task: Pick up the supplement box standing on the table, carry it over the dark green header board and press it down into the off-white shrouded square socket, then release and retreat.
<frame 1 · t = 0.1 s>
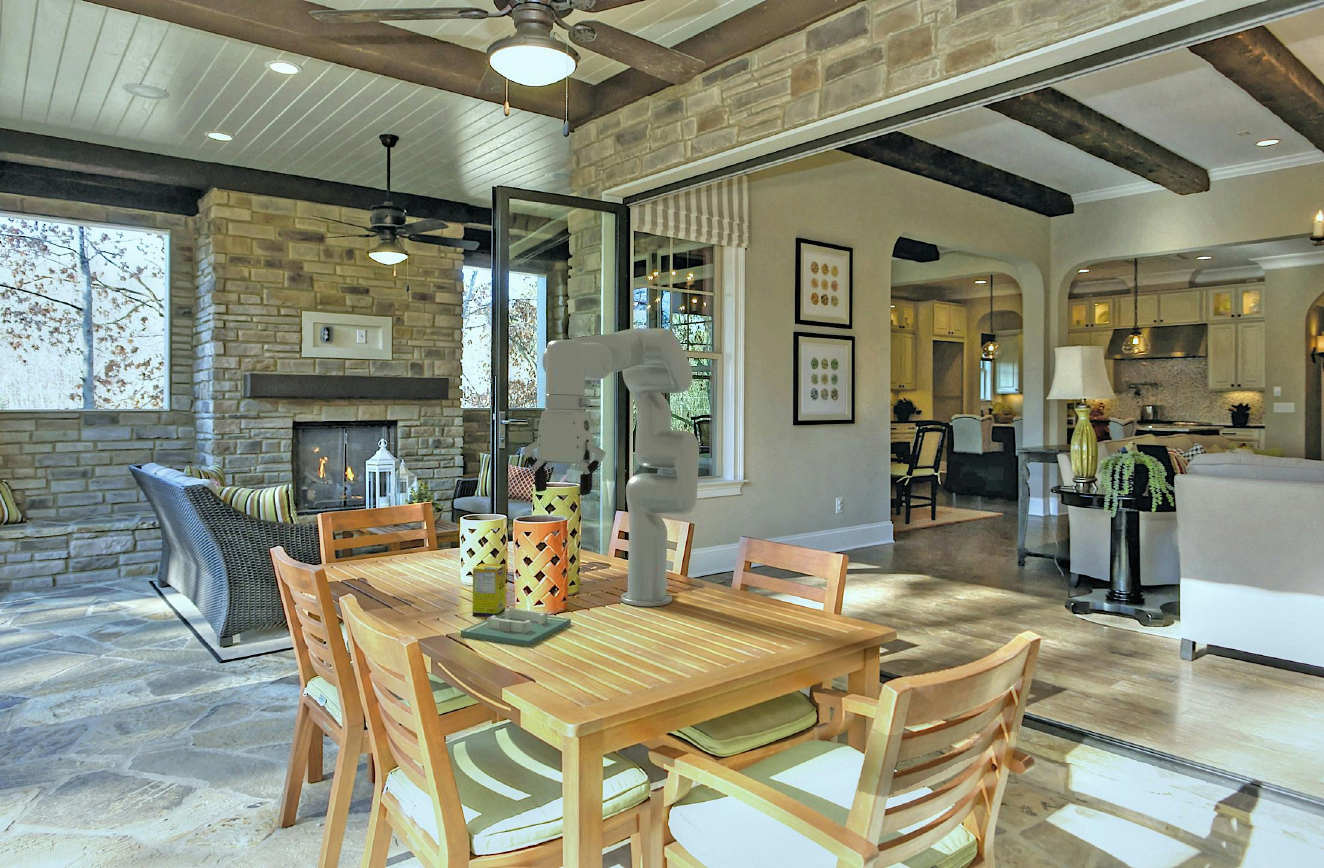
hand: (562, 492, 155), 31 cm above the table, fingers open, 9 cm apart
header board: (517, 630, 170), on the table
supplement box: (488, 614, 183), on the table
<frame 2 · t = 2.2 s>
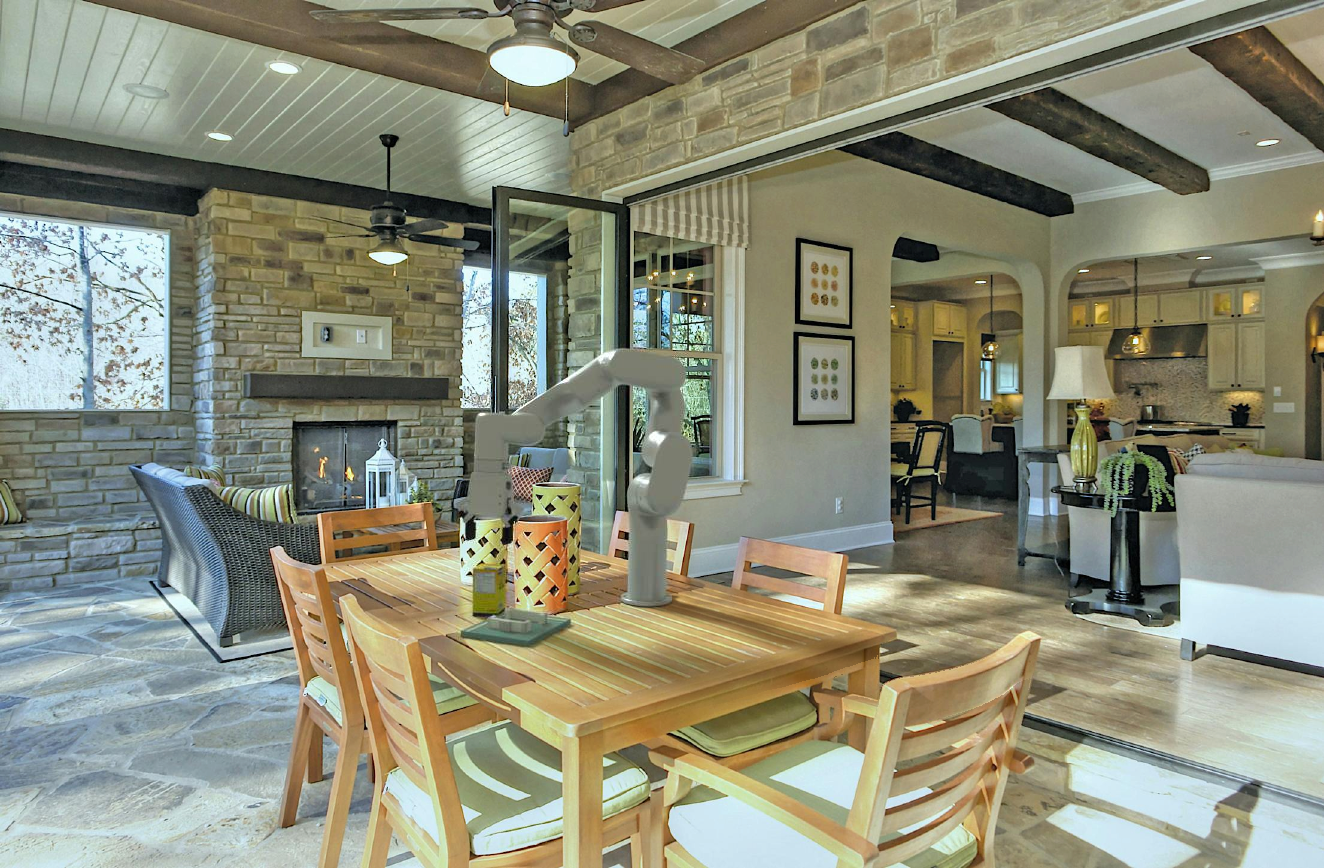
hand: (488, 541, 182), 16 cm above the table, fingers open, 9 cm apart
nothing on the table moved.
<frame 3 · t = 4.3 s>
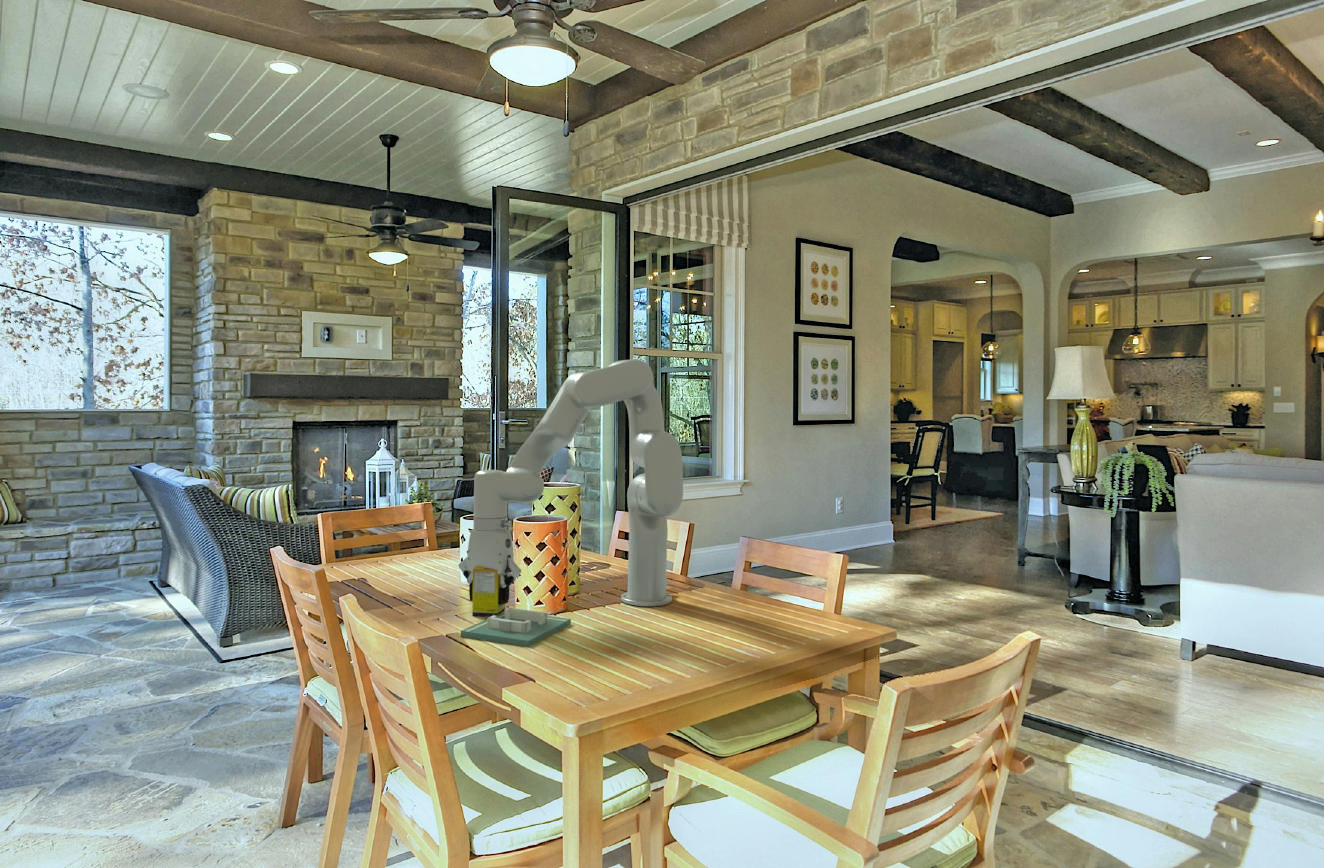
hand: (489, 601, 183), 3 cm above the table, fingers closed on supplement box, 7 cm apart
supplement box: (488, 614, 183), on the table, touching gripper
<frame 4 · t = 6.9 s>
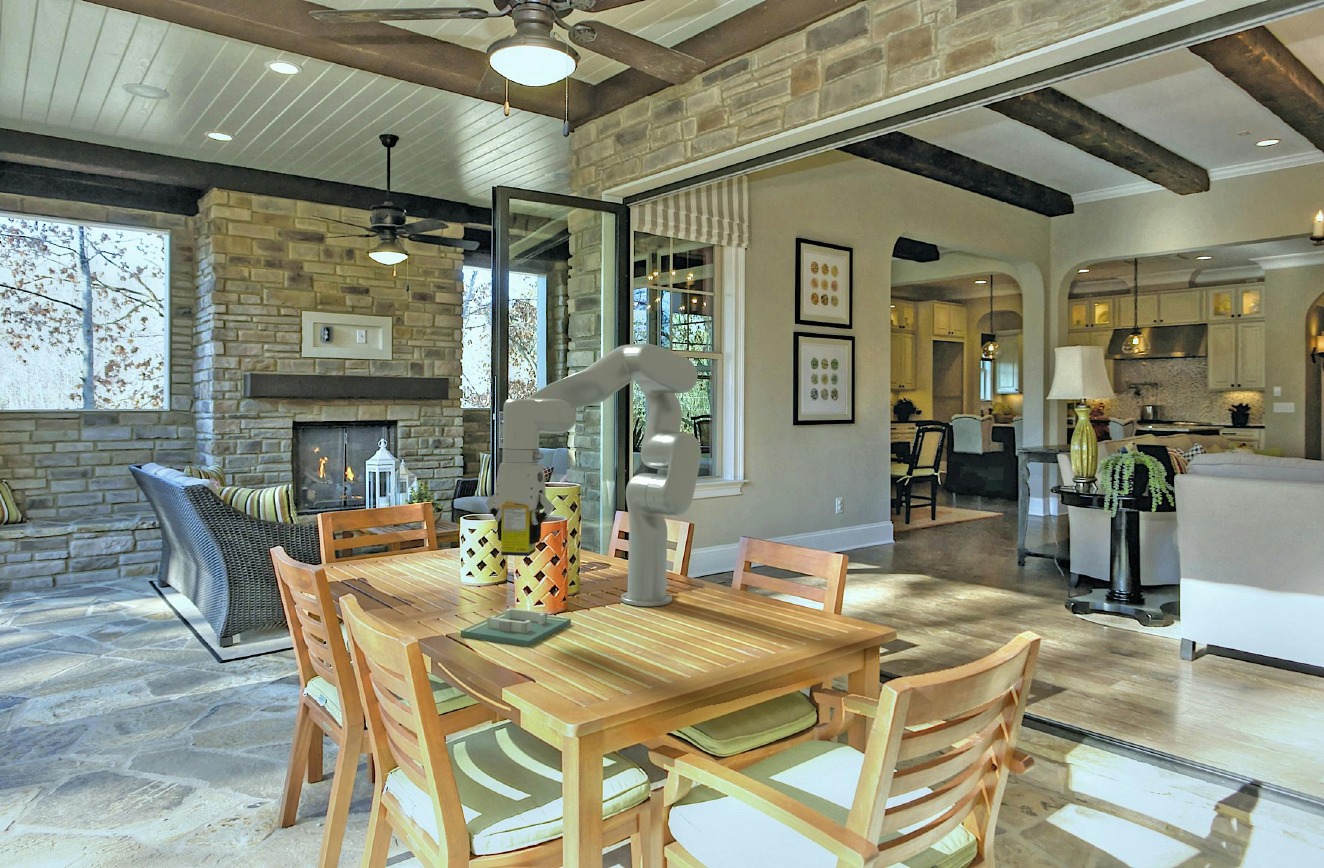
hand: (518, 540, 169), 19 cm above the table, fingers closed on supplement box, 7 cm apart
supplement box: (518, 554, 169), point 16 cm above the table, touching gripper
when the fingers open (5 cm above the table, at t = 9.5 s): supplement box stays where it is, resting on header board.
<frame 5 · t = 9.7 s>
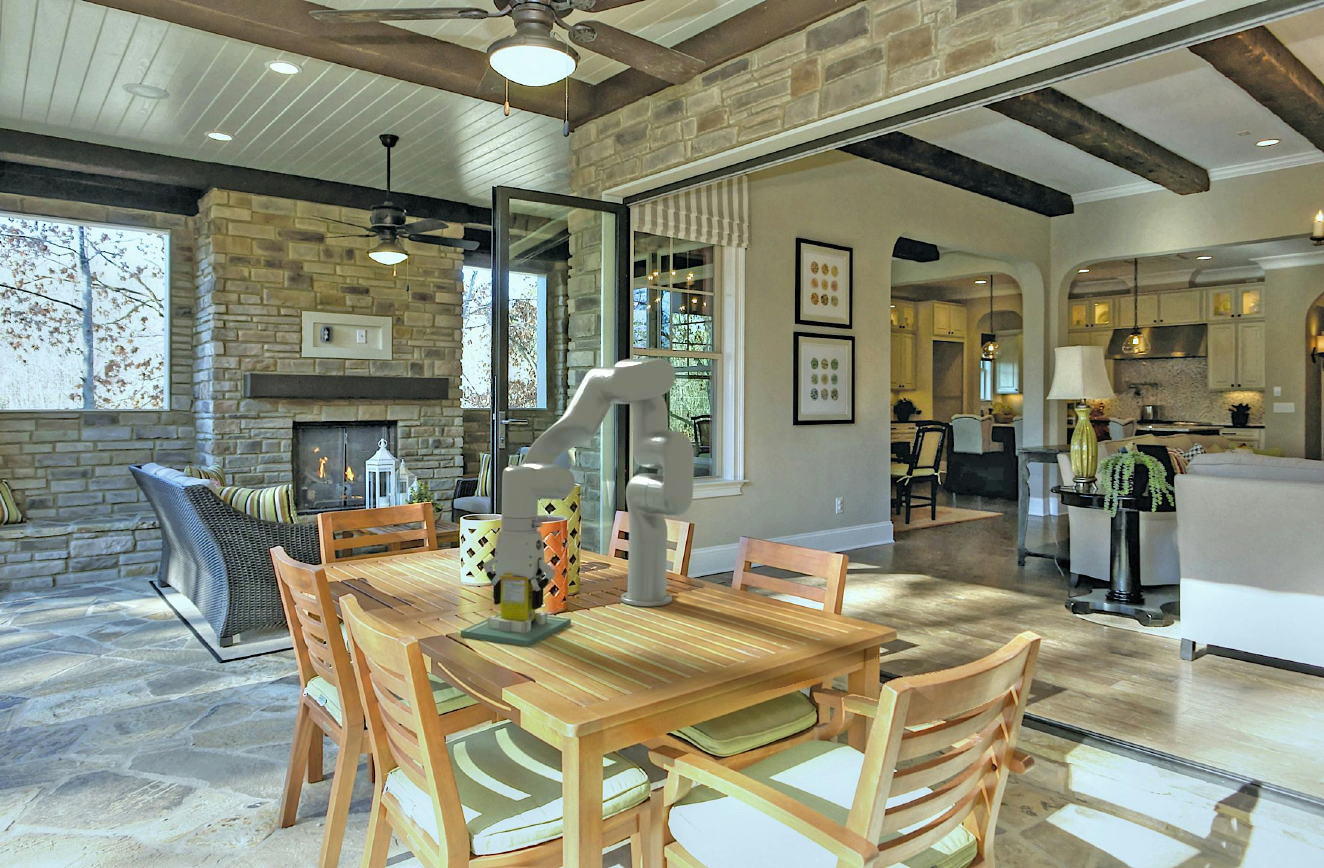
hand: (517, 605, 170), 5 cm above the table, fingers open, 8 cm apart
supplement box: (517, 625, 170), point 1 cm above the table, touching header board
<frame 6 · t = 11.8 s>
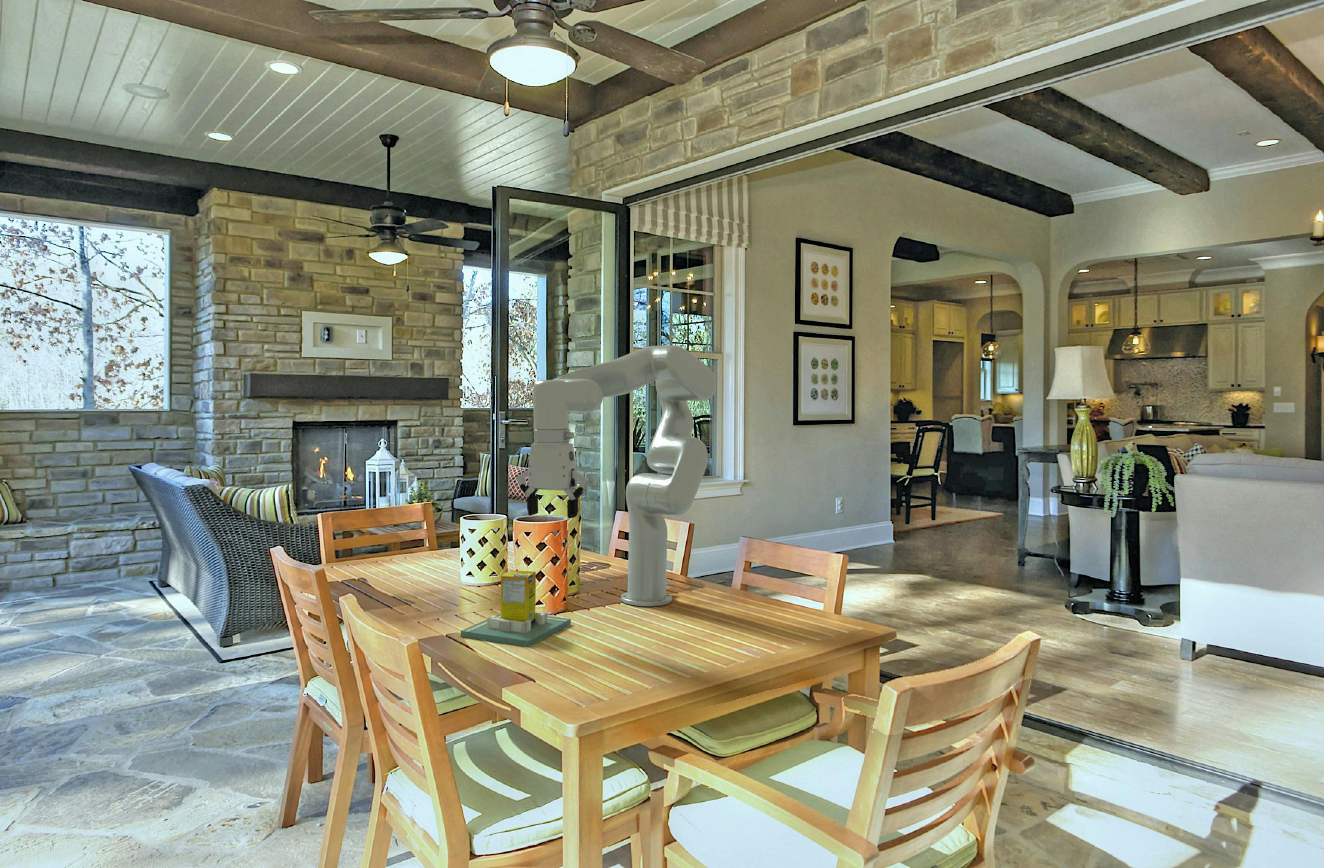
hand: (552, 515, 174), 24 cm above the table, fingers open, 9 cm apart
nothing on the table moved.
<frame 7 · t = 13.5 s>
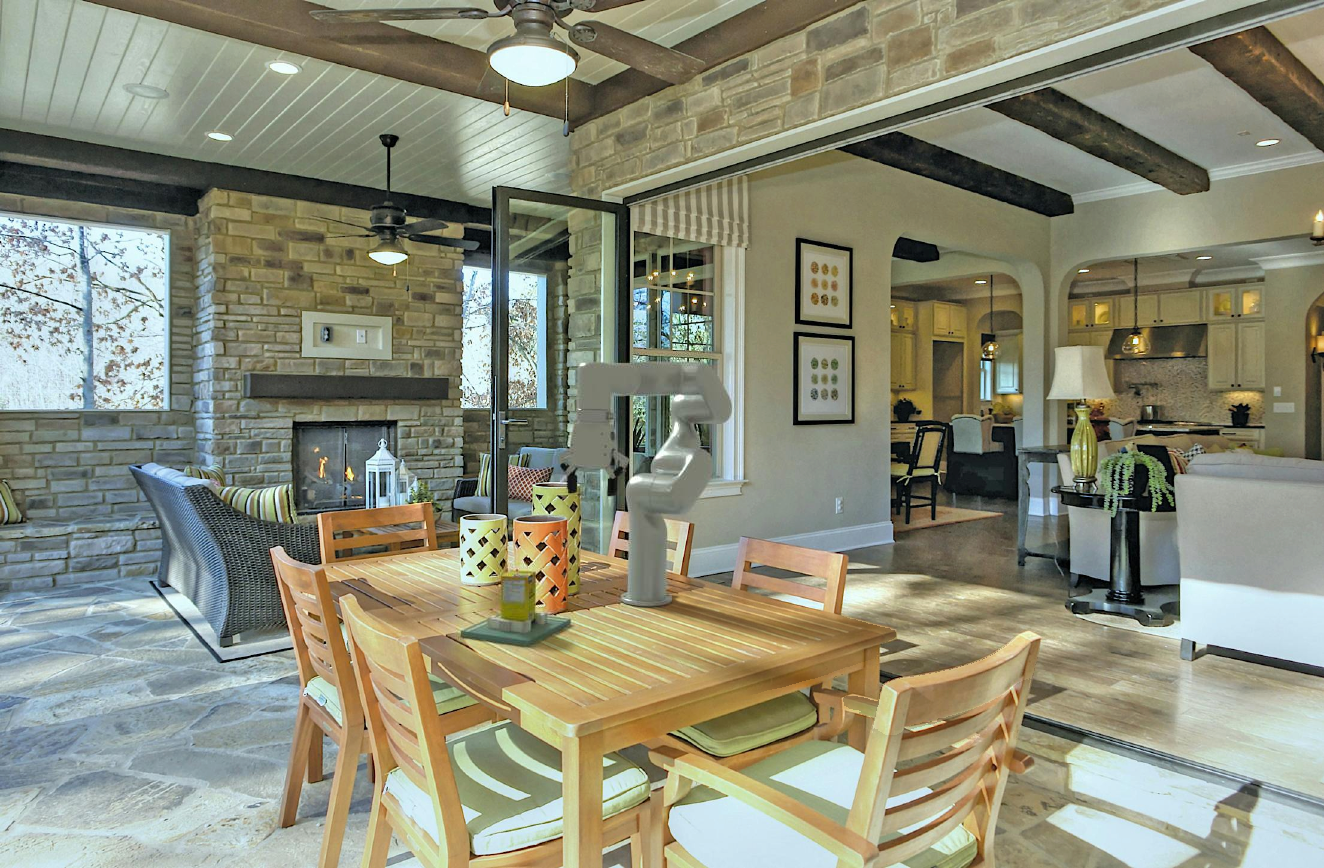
hand: (591, 494, 179), 28 cm above the table, fingers open, 9 cm apart
nothing on the table moved.
at the end: supplement box 0.1 cm off-centre on the header board, point 1.1 cm above the header board's base; supplement box tilted 0°; the gripper is holding nothing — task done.
